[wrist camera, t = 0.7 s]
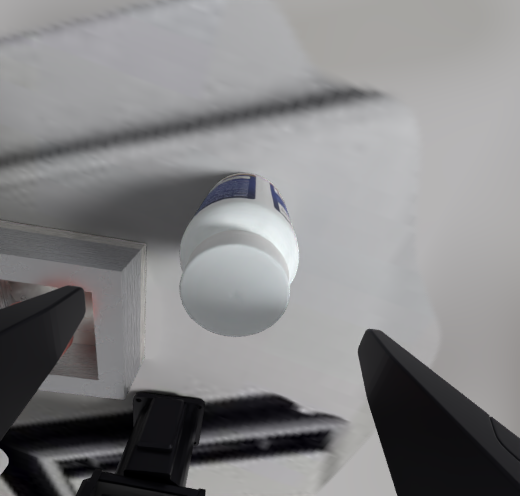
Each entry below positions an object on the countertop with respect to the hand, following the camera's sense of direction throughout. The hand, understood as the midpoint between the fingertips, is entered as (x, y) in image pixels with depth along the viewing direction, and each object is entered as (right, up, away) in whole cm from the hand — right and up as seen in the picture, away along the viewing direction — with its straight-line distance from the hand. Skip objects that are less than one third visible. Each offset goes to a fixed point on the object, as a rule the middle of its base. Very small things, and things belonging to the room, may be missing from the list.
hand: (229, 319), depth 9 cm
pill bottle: (0, +5, +10) cm, 11 cm away
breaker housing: (-13, -1, +13) cm, 18 cm away
